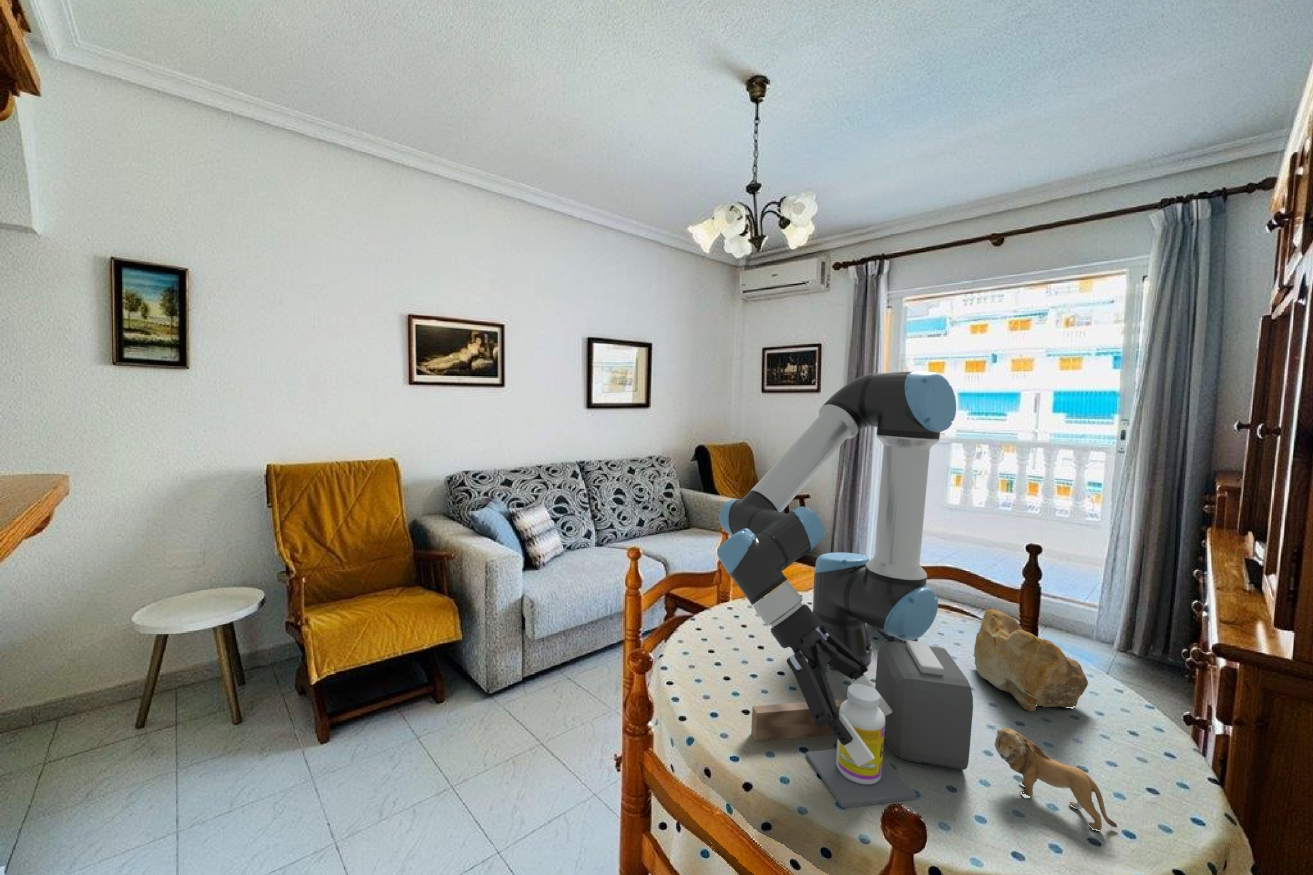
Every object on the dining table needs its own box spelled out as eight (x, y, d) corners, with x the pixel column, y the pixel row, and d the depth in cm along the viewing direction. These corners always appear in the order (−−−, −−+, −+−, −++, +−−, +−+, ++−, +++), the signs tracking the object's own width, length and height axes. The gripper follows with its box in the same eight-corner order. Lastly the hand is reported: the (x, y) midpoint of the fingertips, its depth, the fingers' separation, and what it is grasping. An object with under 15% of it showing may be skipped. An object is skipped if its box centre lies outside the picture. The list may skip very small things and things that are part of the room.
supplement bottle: (885, 790, 77) (891, 707, 76) (839, 782, 78) (844, 700, 77) (876, 760, 83) (881, 683, 82) (833, 753, 85) (838, 677, 84)
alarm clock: (967, 778, 81) (975, 682, 80) (889, 765, 83) (896, 671, 82) (934, 716, 97) (940, 636, 96) (870, 707, 99) (875, 628, 98)
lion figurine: (989, 789, 79) (994, 733, 78) (993, 770, 83) (997, 716, 82) (1118, 842, 70) (1125, 779, 69) (1114, 817, 74) (1121, 757, 73)
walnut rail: (856, 724, 94) (857, 697, 93) (862, 731, 92) (864, 704, 91) (751, 733, 90) (752, 706, 89) (755, 741, 88) (756, 713, 88)
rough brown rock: (1117, 743, 92) (1132, 662, 92) (1015, 721, 95) (1028, 643, 94) (1044, 679, 115) (1055, 613, 114) (963, 663, 118) (974, 599, 117)
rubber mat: (872, 748, 87) (872, 745, 87) (916, 798, 76) (916, 794, 76) (806, 755, 85) (806, 751, 85) (842, 807, 74) (842, 803, 74)
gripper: (795, 603, 98) (874, 708, 91) (738, 654, 77) (834, 795, 70) (825, 582, 95) (909, 689, 87) (774, 630, 74) (879, 775, 67)
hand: (876, 737), depth 79 cm, fingers open, 13 cm apart
